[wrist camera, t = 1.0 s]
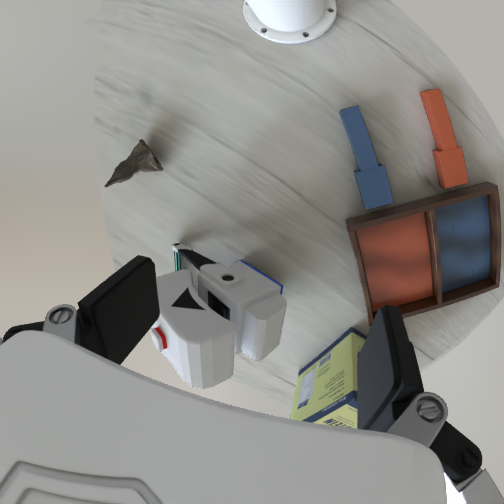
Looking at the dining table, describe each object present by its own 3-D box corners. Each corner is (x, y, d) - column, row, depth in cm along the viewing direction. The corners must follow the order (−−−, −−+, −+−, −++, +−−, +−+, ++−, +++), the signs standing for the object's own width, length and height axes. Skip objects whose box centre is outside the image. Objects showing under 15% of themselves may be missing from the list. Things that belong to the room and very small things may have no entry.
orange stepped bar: (414, 94, 27) (419, 91, 25) (437, 89, 25) (444, 87, 23) (439, 185, 31) (446, 189, 29) (461, 179, 29) (469, 183, 27)
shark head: (140, 192, 43) (114, 203, 37) (121, 163, 42) (94, 171, 36) (171, 163, 39) (146, 170, 34) (150, 132, 38) (123, 135, 32)
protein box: (391, 350, 43) (401, 420, 30) (336, 392, 51) (330, 455, 37) (351, 324, 43) (353, 398, 29) (297, 371, 50) (283, 437, 37)
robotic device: (222, 231, 50) (116, 257, 38) (317, 284, 36) (181, 348, 24) (221, 280, 55) (126, 312, 43) (303, 341, 41) (190, 406, 28)
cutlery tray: (345, 219, 37) (346, 226, 34) (487, 181, 28) (498, 185, 25) (367, 314, 42) (369, 326, 39) (491, 277, 33) (499, 287, 30)
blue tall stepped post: (333, 113, 31) (333, 112, 29) (361, 105, 30) (364, 103, 28) (363, 205, 35) (365, 210, 33) (390, 198, 34) (394, 202, 32)
